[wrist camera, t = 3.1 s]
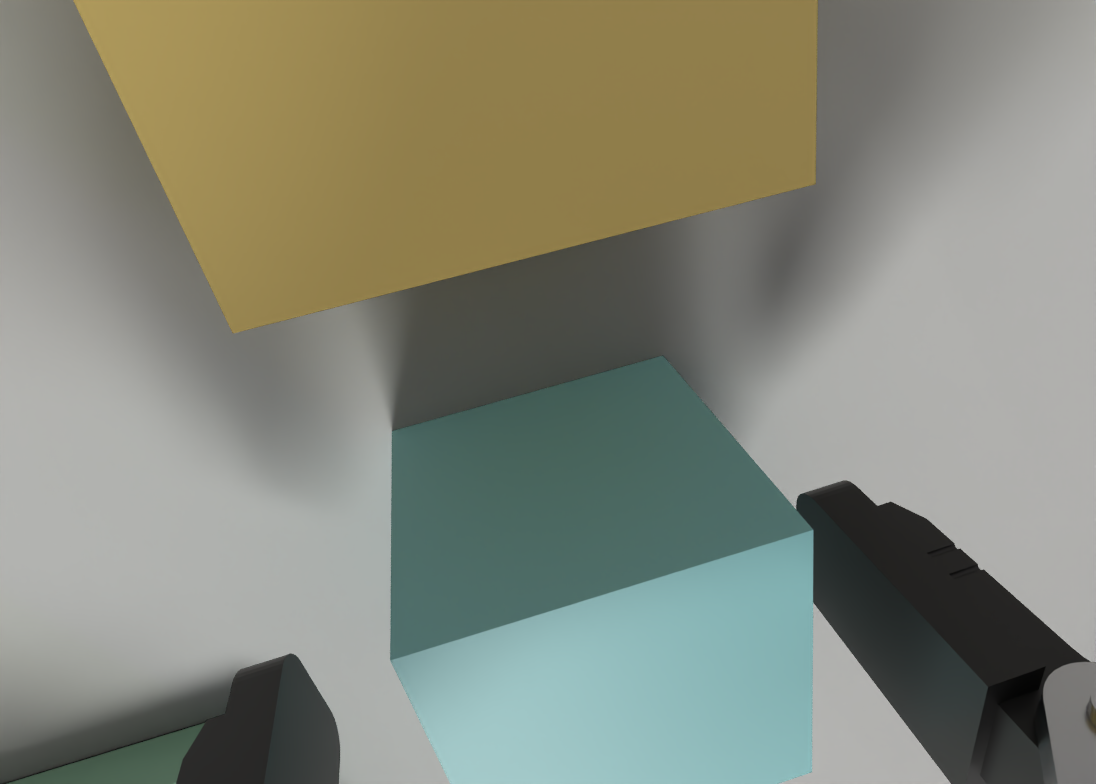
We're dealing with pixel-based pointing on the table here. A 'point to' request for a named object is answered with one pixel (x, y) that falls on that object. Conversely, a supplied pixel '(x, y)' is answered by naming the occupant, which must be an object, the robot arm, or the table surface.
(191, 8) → the mustard brick
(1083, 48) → the table surface
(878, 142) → the table surface
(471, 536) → the teal brick
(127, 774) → the plate
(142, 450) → the table surface
